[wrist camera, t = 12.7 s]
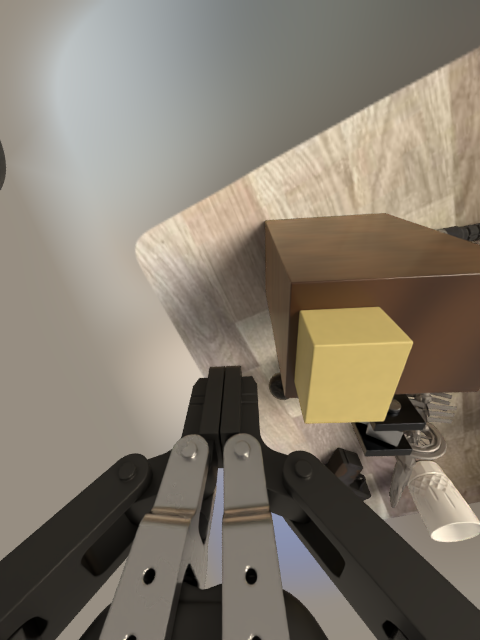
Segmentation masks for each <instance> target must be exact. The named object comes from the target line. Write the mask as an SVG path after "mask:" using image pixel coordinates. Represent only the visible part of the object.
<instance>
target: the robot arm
mask: <svg viewBox="0 0 480 640" xmlns="http://www.w3.org/2000/svg"><path fill="white" fill-rule="evenodd" d="M218 468H224V514H223V519H222V584H219V585H217V586H214V587H211V588H209V589H204V588H205V581H206V574H207V561H208V555H207V553H208V541H209V535H210V529H211V522H212V516H213V509H214V502H215V496H216V487H217V486H216V483H217V472H218ZM271 512H272V513H275V514H277V515H280V516H282V517H283V518H284V519H285V521H286V522H287V523H288V525H289V526H290V527H291V529H292V530H293V531H294V533H295V534H296V535H297V536H298V538H299V539H300V540H301V542H302V543H303V544H304V545H305V547H306V548H307V549H308V550H309V552H310V553H311V555H312V556H313V557H314V558H315V560H316V561H317V562H318V563H319V565H320V566H321V567H322V569H323V570H324V571H325V572H326V574H327V575H328V576H329V578H330V579H331V580H332V582H333V583H334V584H335V585H336V587H337V588H338V589H339V591H340V592H341V593H342V594H343V596H344V597H345V598H346V600H347V601H348V602H349V603H350V605H351V606H352V607H353V608H354V610H355V611H356V612H357V614H358V615H359V616H360V618H361V619H362V620H363V621H364V623H365V624H366V625H367V626H368V628H369V629H370V630H371V632H372V633H373V634H374V636H375V637H376V638H377V639H378V640H480V610H479V609H477V607H475V606H474V605H473V604H472V603H471V602H470V601H469V600H468V599H467V598H466V597H465V596H464V595H463V594H461V593H460V592H459V591H458V590H457V589H456V588H455V587H454V586H453V585H452V584H451V583H450V582H449V581H448V580H447V579H445V578H444V577H443V576H442V575H441V574H440V573H439V572H438V571H437V570H436V569H435V568H434V567H433V566H432V565H431V564H430V563H428V562H427V561H426V560H425V559H424V558H423V557H422V556H421V555H420V554H419V553H418V552H417V551H416V550H414V549H413V548H412V547H411V546H410V545H409V544H408V543H407V542H406V541H405V540H404V539H403V538H402V537H401V536H399V534H398V533H396V532H395V531H394V530H393V529H392V528H391V527H390V526H389V525H388V524H387V523H386V522H385V521H384V520H383V519H381V518H380V517H379V516H378V515H377V514H376V513H375V512H374V511H373V510H372V509H371V508H370V507H369V506H368V505H367V504H365V503H364V502H363V501H362V500H361V499H360V498H359V497H358V496H357V495H356V494H355V493H354V492H353V491H352V490H351V489H349V488H348V487H347V486H346V485H345V484H344V483H343V482H342V481H341V480H340V479H339V478H338V477H337V476H336V475H335V474H333V473H332V472H331V471H330V470H329V469H328V468H327V467H326V466H325V465H324V464H323V463H322V462H321V461H320V460H319V459H317V458H316V457H315V456H314V455H312V454H311V453H308V452H305V451H295V452H292V453H290V454H289V455H286V454H282V453H279V452H276V451H274V450H272V449H270V448H269V447H267V446H266V445H265V443H264V442H263V440H262V438H261V436H260V426H259V410H258V393H257V383H256V382H255V380H254V379H253V377H252V376H246V377H242V371H241V366H226V367H225V366H221V367H210V369H209V375H208V378H199V379H198V381H197V382H196V384H195V385H194V386H193V389H192V394H191V398H190V403H189V407H188V412H187V416H186V420H185V424H184V429H183V433H182V437H181V439H180V440H179V441H178V442H177V443H176V444H175V445H174V447H173V449H171V450H170V451H168V452H167V453H165V454H162V455H159V456H156V457H153V458H151V459H148V460H147V459H146V458H145V456H143V455H141V454H130V455H127V456H125V457H123V458H121V459H120V460H119V461H117V462H116V463H115V464H114V465H113V466H111V467H110V468H109V469H108V470H107V471H106V472H104V473H103V474H102V475H101V476H100V477H99V478H97V479H96V480H95V481H94V482H93V483H92V484H90V485H89V486H88V487H87V488H86V489H84V490H83V491H82V492H81V493H80V494H79V495H78V496H76V497H75V498H74V499H73V500H72V501H70V502H69V503H68V504H67V505H66V506H64V507H63V508H62V509H61V510H60V511H59V512H57V513H56V514H55V515H54V516H53V517H52V518H51V519H49V520H48V521H47V522H46V523H45V524H43V525H42V526H41V527H40V528H39V529H37V530H36V531H35V532H34V533H33V534H32V535H30V536H29V537H28V538H27V539H26V540H25V541H23V542H22V543H21V544H20V545H19V546H18V547H16V548H15V549H14V550H13V551H12V552H10V553H9V554H8V555H7V556H6V557H5V558H3V559H2V560H1V561H0V640H55V639H56V638H57V637H58V636H59V635H60V634H61V632H62V631H63V630H64V629H65V628H66V627H67V626H68V624H69V623H70V622H71V621H72V620H73V619H74V617H75V616H76V615H77V614H78V612H80V611H81V609H82V608H83V607H84V606H85V605H86V604H87V603H88V601H89V600H90V599H91V598H92V597H93V596H94V595H95V593H96V592H97V591H98V590H99V589H100V587H102V585H103V584H104V583H105V582H106V581H107V580H108V579H109V577H110V576H111V575H112V574H113V573H114V572H115V570H116V569H117V568H118V567H119V566H120V565H121V564H122V563H123V561H124V560H125V559H126V558H127V557H128V558H127V561H126V564H125V567H124V570H123V572H122V575H121V578H120V581H119V584H118V587H117V589H116V592H115V595H114V598H113V601H112V603H111V604H110V605H108V606H107V607H106V608H105V609H104V610H103V611H102V612H101V613H100V614H99V615H98V616H97V618H96V619H95V620H94V621H93V622H92V624H91V625H90V626H89V627H88V629H87V630H86V631H85V633H84V634H83V635H82V636H81V638H80V639H79V640H328V638H327V637H326V635H325V633H324V632H323V630H322V629H321V627H320V626H319V624H318V623H317V621H316V620H315V618H314V617H313V616H312V614H311V613H310V612H309V610H308V609H307V608H306V607H305V606H304V605H303V604H302V603H301V602H300V601H299V600H298V599H297V598H296V597H294V596H293V595H292V594H290V593H288V592H287V591H285V590H283V589H282V582H281V576H280V569H279V561H278V554H277V547H276V541H275V534H274V527H273V520H272V515H271ZM154 576H155V577H154Z"/></svg>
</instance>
